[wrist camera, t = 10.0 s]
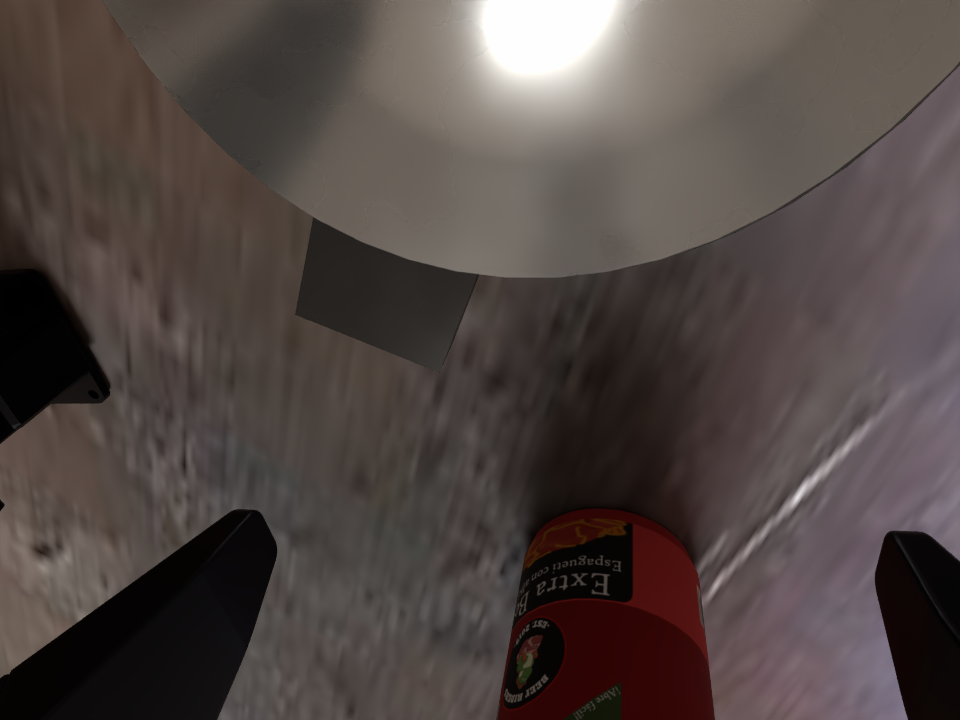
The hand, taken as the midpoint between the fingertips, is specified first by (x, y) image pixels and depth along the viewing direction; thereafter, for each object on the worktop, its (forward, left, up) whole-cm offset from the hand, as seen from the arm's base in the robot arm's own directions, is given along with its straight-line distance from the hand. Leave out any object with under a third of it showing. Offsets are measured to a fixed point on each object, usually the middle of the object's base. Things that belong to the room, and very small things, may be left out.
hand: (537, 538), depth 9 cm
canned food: (0, -17, -13) cm, 21 cm away
